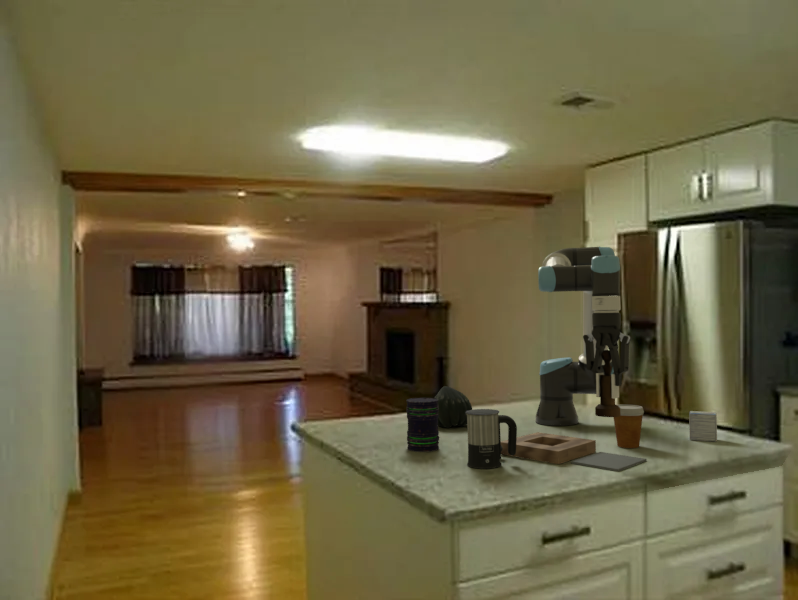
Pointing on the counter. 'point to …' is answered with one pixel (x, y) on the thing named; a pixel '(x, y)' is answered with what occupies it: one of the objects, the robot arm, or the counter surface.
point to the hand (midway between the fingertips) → (607, 397)
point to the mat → (608, 461)
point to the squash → (452, 407)
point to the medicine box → (703, 426)
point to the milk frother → (488, 437)
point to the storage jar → (422, 424)
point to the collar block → (550, 447)
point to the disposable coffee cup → (629, 426)
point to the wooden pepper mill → (606, 391)
